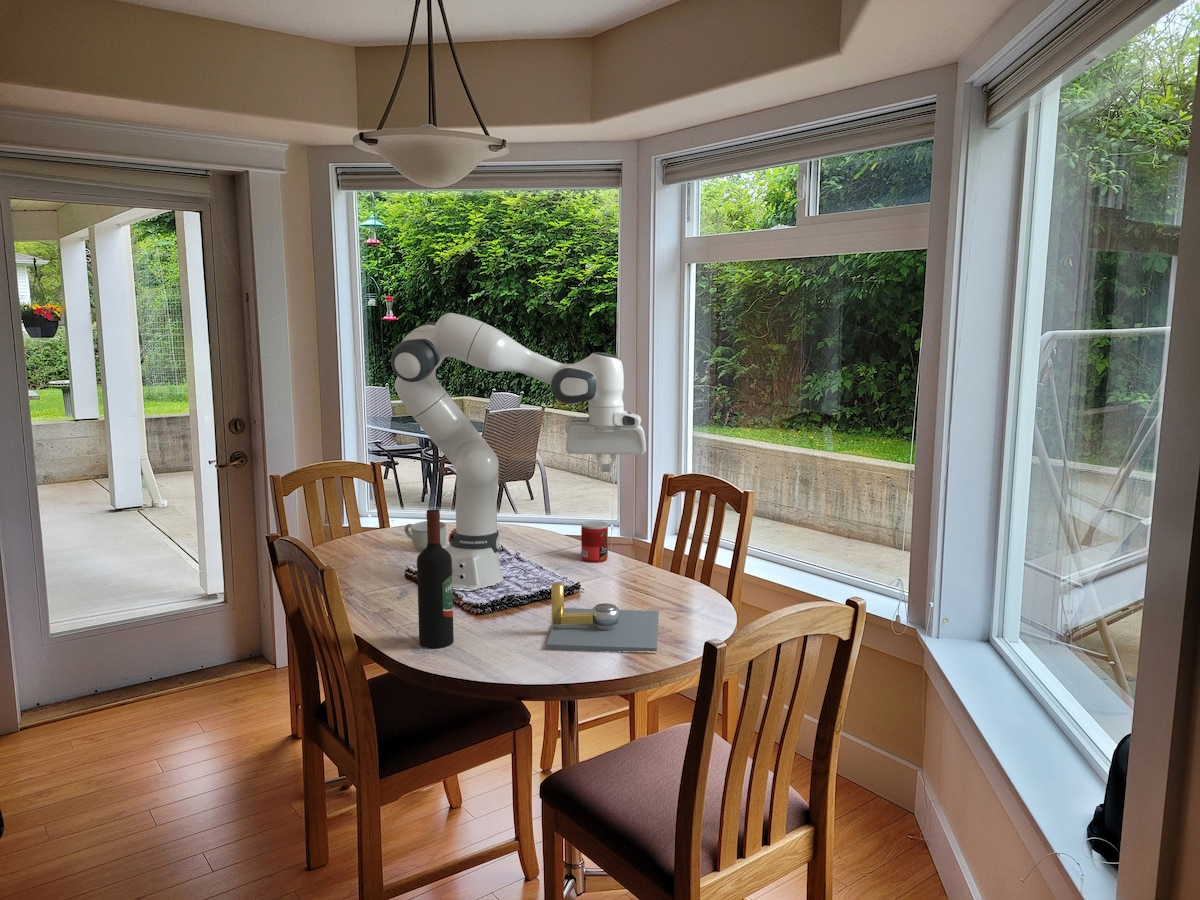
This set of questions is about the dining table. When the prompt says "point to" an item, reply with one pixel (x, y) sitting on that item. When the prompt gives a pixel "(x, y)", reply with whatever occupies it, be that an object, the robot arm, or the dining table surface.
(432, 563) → the wine bottle
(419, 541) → the teacup
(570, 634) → the base
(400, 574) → the dining table surface
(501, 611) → the dining table surface
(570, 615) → the door handle
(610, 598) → the dining table surface
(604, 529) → the canned food
